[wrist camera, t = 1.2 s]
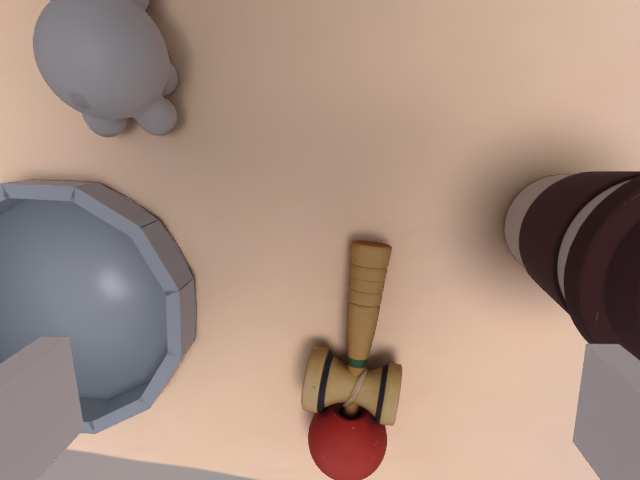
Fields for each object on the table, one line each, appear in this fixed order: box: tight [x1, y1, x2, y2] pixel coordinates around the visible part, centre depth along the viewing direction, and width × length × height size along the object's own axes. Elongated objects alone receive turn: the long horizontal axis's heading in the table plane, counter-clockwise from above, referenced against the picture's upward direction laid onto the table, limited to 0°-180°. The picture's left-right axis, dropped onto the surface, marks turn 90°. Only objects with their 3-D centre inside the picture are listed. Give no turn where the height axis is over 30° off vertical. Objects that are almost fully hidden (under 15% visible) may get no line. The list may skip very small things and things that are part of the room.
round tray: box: [0, 179, 197, 434], centre depth 33 cm, size 19×19×4 cm
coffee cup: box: [504, 172, 640, 360], centre depth 25 cm, size 10×10×15 cm
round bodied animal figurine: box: [33, 0, 179, 137], centre depth 27 cm, size 7×12×8 cm, turn 178°
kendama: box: [301, 241, 402, 480], centre depth 33 cm, size 8×6×18 cm
